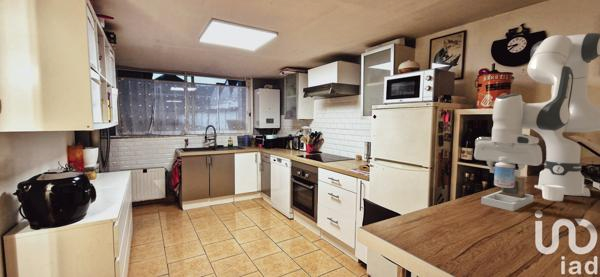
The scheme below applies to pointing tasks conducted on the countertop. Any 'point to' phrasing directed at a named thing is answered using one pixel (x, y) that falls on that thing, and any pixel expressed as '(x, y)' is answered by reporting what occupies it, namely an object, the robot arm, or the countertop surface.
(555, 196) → the white ramekin
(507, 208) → the grey compartment tray
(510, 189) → the brown wooden block
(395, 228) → the countertop surface
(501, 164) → the pill bottle
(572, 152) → the robot arm
